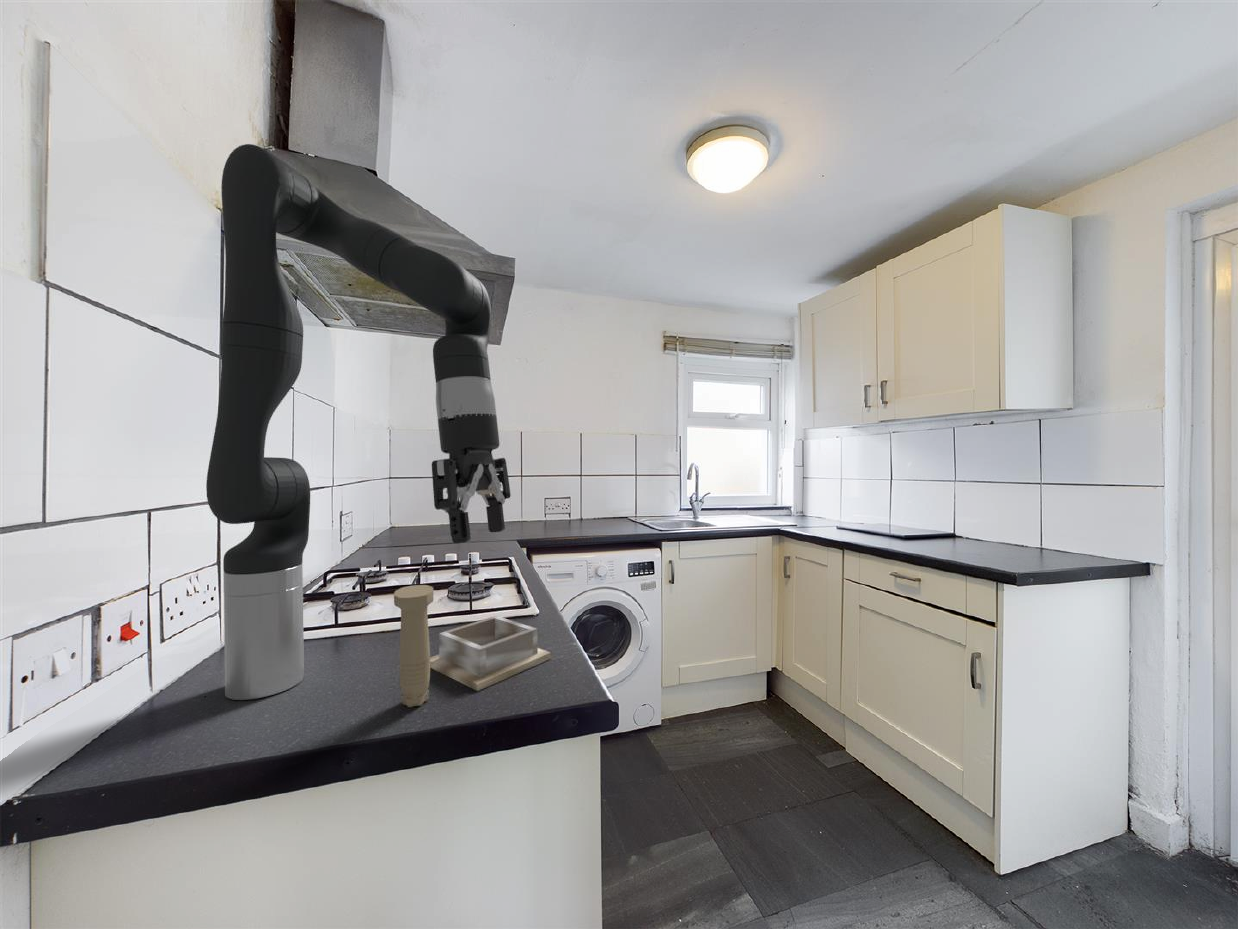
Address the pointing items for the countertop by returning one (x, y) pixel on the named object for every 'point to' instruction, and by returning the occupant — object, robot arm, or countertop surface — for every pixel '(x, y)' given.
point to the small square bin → (487, 652)
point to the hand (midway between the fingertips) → (480, 536)
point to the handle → (414, 643)
